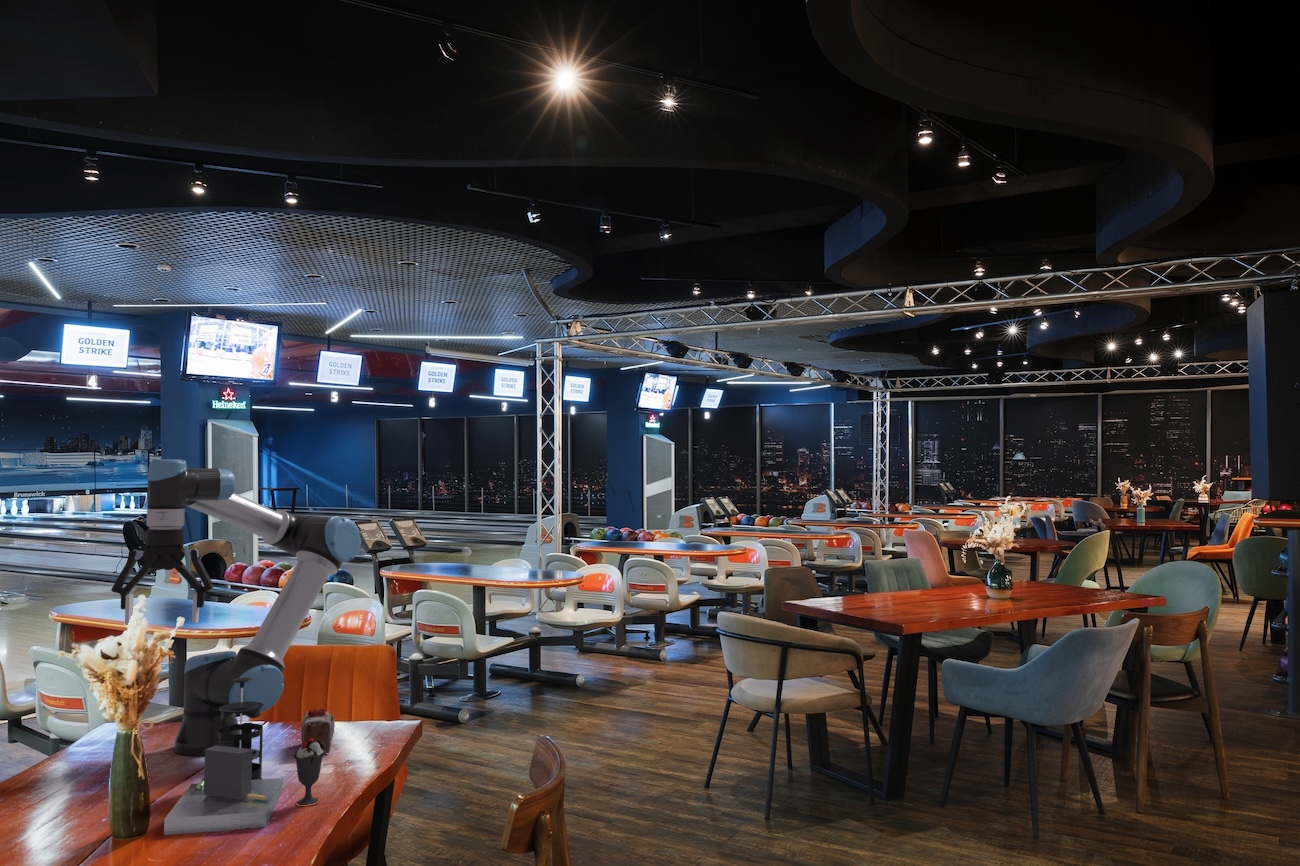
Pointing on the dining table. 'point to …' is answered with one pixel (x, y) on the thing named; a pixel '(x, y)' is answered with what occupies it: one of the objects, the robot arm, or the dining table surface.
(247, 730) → the french press
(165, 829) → the base
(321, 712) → the food item
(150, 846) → the dining table surface
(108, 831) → the dining table surface
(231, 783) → the dark grey rectangular block
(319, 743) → the sundae
